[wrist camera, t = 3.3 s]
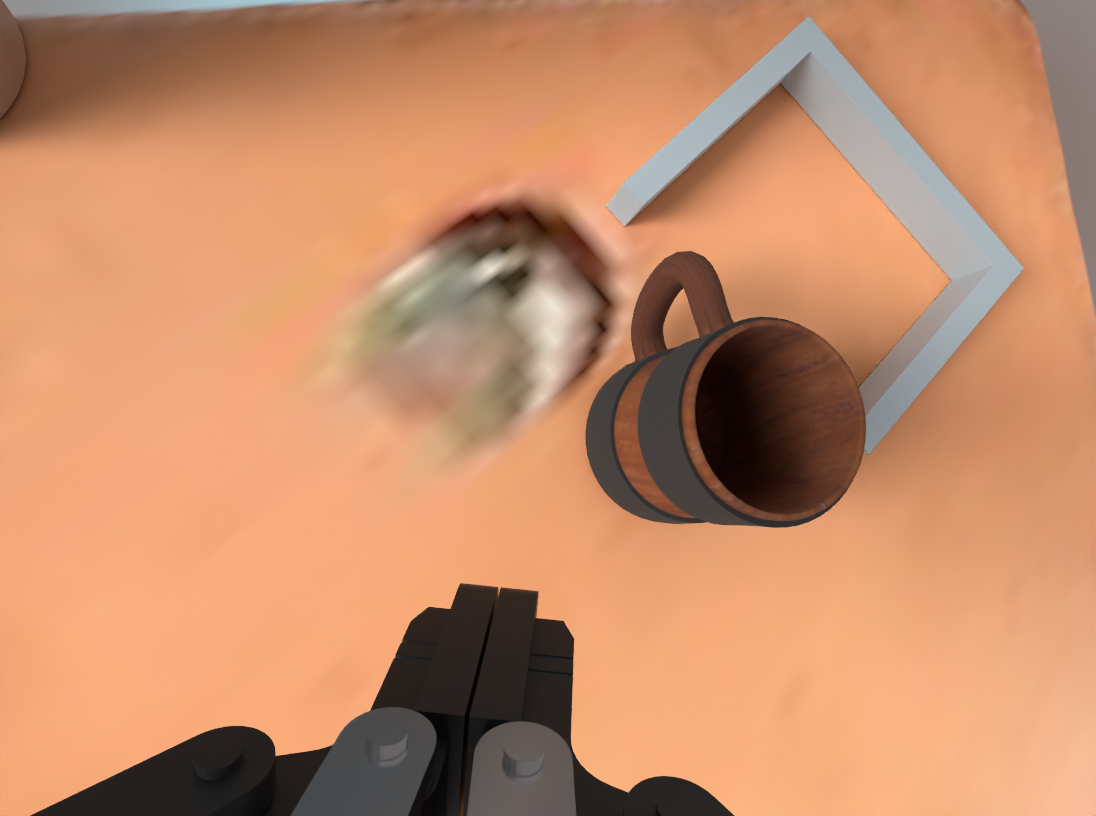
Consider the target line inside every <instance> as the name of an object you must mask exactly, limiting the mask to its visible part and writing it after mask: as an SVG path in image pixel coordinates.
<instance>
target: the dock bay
mask: <svg viewBox="0 0 1096 816" xmlns="http://www.w3.org/2000/svg"><path fill="white" fill-rule="evenodd" d="M780 83H781V84H782V85H783V87H784V88H785V89H786V90H787V91H788V92H789V94H790V95H791V96H792V97H793V98H794V99H795V100H796V102H797V103H798V104H799V105H800V106H801V107H802V109H803V110H804V111H805V112H806V113H807V114H808V115H809V117H810V118H811V119H812V120H813V121H814V122H815V124H816V125H817V126H818V127H819V128H820V129H821V130H822V132H823V133H824V134H825V135H826V136H827V137H828V139H829V140H830V141H831V142H832V143H833V144H834V146H835V147H836V148H837V149H838V150H839V151H840V152H841V154H842V155H843V156H844V157H845V158H846V159H847V161H848V162H849V163H850V164H851V165H852V166H853V167H854V169H855V170H856V171H857V172H858V173H859V174H860V176H861V177H862V178H863V179H864V180H865V181H866V183H867V184H868V185H869V186H870V187H871V188H872V189H873V191H874V192H875V193H876V194H877V195H878V196H879V198H880V199H881V200H882V201H883V202H884V203H885V204H886V206H887V207H888V208H889V209H890V210H891V211H892V213H893V214H894V215H895V216H896V217H897V218H898V219H899V221H900V222H901V223H902V224H903V225H904V226H905V228H906V229H907V230H908V231H909V232H910V233H911V235H912V236H913V237H914V238H915V239H916V240H917V241H918V243H919V244H920V245H921V246H922V247H923V248H924V250H925V251H926V252H927V253H928V254H929V255H930V256H931V258H932V259H933V260H934V261H935V262H936V263H937V265H938V266H939V267H940V268H941V269H942V270H943V272H944V273H945V274H946V275H947V276H948V277H949V278H950V280H951V282H950V283H949V284H948V285H947V286H946V288H945V289H944V290H943V291H942V292H941V293H940V295H939V296H938V297H937V298H936V299H935V300H934V301H933V303H932V304H931V305H930V306H929V307H928V308H927V310H926V311H925V312H924V313H923V314H922V315H921V316H920V318H919V319H918V320H917V321H916V322H915V323H914V325H913V326H912V327H911V328H910V329H909V330H908V331H907V333H906V334H905V335H904V336H903V337H902V338H901V340H900V341H899V342H898V343H897V344H896V345H895V346H894V348H893V349H892V350H891V351H890V352H889V353H888V355H887V356H886V357H885V358H884V359H883V360H882V361H881V363H880V364H879V365H878V366H877V367H876V368H875V370H874V371H873V372H872V373H871V374H870V375H869V377H868V378H867V379H866V380H865V381H864V382H863V383H862V385H861V386H860V387H859V390H860V393H861V397H862V400H863V404H864V410H865V417H866V441H865V447H864V453H863V455H866V454H870V453H871V452H872V450H873V449H874V448H875V447H876V446H877V444H878V443H879V442H880V441H881V440H882V438H883V437H884V436H885V435H886V434H887V432H888V431H889V430H890V429H891V428H892V426H893V425H894V424H895V423H896V422H897V420H898V419H899V418H900V417H901V416H902V414H903V413H904V412H905V411H906V409H907V408H908V407H909V406H910V405H911V403H912V402H913V401H914V400H915V399H916V397H917V396H918V395H919V394H920V393H921V391H922V390H923V389H924V388H925V387H926V385H927V384H928V383H929V382H930V381H931V379H932V378H933V377H934V376H935V375H936V373H937V372H938V371H939V370H940V369H941V367H942V366H943V365H944V364H945V363H946V361H947V360H948V359H949V358H950V357H951V355H952V354H953V353H954V352H955V351H956V349H957V348H958V347H959V346H960V345H961V343H962V342H963V341H964V340H965V339H966V337H967V336H968V335H969V334H970V332H971V331H972V330H973V329H974V328H975V326H976V325H977V324H978V323H979V322H980V320H981V319H982V318H983V317H984V316H985V314H986V313H987V312H988V311H989V310H990V308H991V307H992V306H993V305H994V304H995V302H996V301H997V300H998V299H999V298H1000V296H1001V295H1002V294H1003V293H1004V292H1005V290H1006V289H1007V288H1008V287H1009V286H1010V284H1011V283H1012V282H1013V281H1014V280H1015V278H1016V277H1017V276H1018V275H1019V274H1020V272H1021V271H1022V270H1023V269H1024V268H1023V266H1022V265H1021V264H1020V263H1019V262H1018V260H1017V259H1016V258H1015V257H1014V256H1013V255H1012V253H1011V252H1010V251H1009V250H1008V249H1007V248H1006V246H1005V245H1004V244H1003V243H1002V242H1001V241H1000V239H999V238H998V237H997V236H996V235H995V233H994V232H993V231H992V230H991V229H990V228H989V226H988V225H987V224H986V223H985V222H984V221H983V219H982V218H981V217H980V216H979V215H978V214H977V212H976V211H975V210H974V209H973V208H972V207H971V205H970V204H969V203H968V202H967V201H966V199H965V198H964V197H963V196H962V195H961V194H960V192H959V191H958V190H957V189H956V188H955V187H954V185H953V184H952V183H951V182H950V181H949V180H948V178H947V177H946V176H945V175H944V174H943V173H942V171H941V170H940V169H939V168H938V167H937V165H936V164H935V163H934V162H933V161H932V160H931V158H930V157H929V156H928V155H927V154H926V153H925V151H924V150H923V149H922V148H921V147H920V146H919V144H918V143H917V142H916V141H915V140H914V138H913V137H912V136H911V135H910V134H909V133H908V131H907V130H906V129H905V128H904V127H903V126H902V124H901V123H900V122H899V121H898V120H897V119H896V117H895V116H894V115H893V114H892V113H891V112H890V110H889V109H888V108H887V107H886V106H885V104H884V103H883V102H882V101H881V100H880V99H879V97H878V96H877V95H876V94H875V93H874V92H873V90H872V89H871V88H870V87H869V86H868V85H867V83H866V82H865V81H864V80H863V79H862V78H861V76H860V75H859V74H858V73H857V72H856V70H855V69H854V68H853V67H852V66H851V65H850V63H849V62H848V61H847V60H846V59H845V58H844V56H843V55H842V54H841V53H840V52H839V51H838V49H837V48H836V47H835V46H834V45H833V44H832V42H831V41H830V40H829V39H828V38H827V36H826V35H825V34H824V33H823V32H822V31H821V29H820V28H819V27H818V26H817V25H816V24H815V22H814V21H813V20H812V19H811V18H810V17H809V16H808V17H807V18H806V19H805V20H804V21H803V22H802V23H801V24H800V25H798V26H797V27H796V28H795V29H794V30H793V31H792V32H791V33H790V34H788V35H787V36H786V37H785V38H784V39H783V40H782V41H781V42H780V43H778V44H777V45H776V46H775V47H774V48H773V49H772V50H771V51H769V52H768V53H767V54H766V55H765V56H764V57H763V58H762V59H761V60H759V61H758V62H757V63H756V64H755V65H754V66H753V67H752V68H751V69H749V70H748V71H747V72H746V73H745V74H744V75H743V76H742V77H741V78H739V79H738V80H737V81H736V82H735V83H734V84H733V85H732V86H731V87H729V88H728V89H727V90H726V91H725V92H724V93H723V94H722V95H720V96H719V97H718V98H717V99H716V100H715V101H714V102H713V103H712V104H710V105H709V106H708V107H707V108H706V109H705V110H704V111H703V112H702V113H700V114H699V115H698V116H697V117H696V118H695V119H694V120H693V121H692V122H690V123H689V124H688V125H687V126H686V127H685V128H684V129H683V130H682V131H680V132H679V133H678V134H677V135H676V136H675V137H674V138H673V139H671V140H670V141H669V142H668V143H667V144H666V145H665V146H664V147H663V148H661V149H660V150H659V151H658V152H657V153H656V154H655V155H654V156H653V157H651V158H650V159H649V160H648V161H647V162H646V163H645V164H644V165H643V166H641V167H640V168H639V169H638V170H637V171H636V172H635V173H634V174H633V175H631V176H630V177H629V178H628V179H627V180H626V181H625V182H624V183H623V184H622V185H621V187H620V188H619V189H618V191H617V192H616V193H615V195H614V196H613V197H612V199H611V200H610V201H609V202H608V204H607V205H606V207H607V208H608V209H609V210H610V212H611V213H612V214H613V215H614V216H615V217H616V218H617V219H618V220H619V221H620V223H621V224H622V225H623V226H626V225H627V224H628V223H629V222H630V221H631V220H632V219H633V218H634V217H635V216H636V215H637V214H639V213H640V212H641V211H642V210H643V209H644V208H645V207H646V206H647V205H648V204H649V203H650V202H652V201H653V200H654V199H655V198H656V197H657V196H658V195H659V194H660V193H661V192H662V191H663V190H665V189H666V188H667V187H668V186H669V185H670V184H671V183H672V182H673V181H674V180H675V179H676V178H678V177H679V176H680V175H681V174H682V173H683V172H684V171H685V170H686V169H687V168H688V167H690V166H691V165H692V164H693V163H694V162H695V161H696V160H697V159H698V158H699V157H700V156H701V155H703V154H704V153H705V152H706V151H707V150H708V149H709V148H710V147H711V146H712V145H713V144H714V143H716V142H717V141H718V140H719V139H720V138H721V137H722V136H723V135H724V134H725V133H726V132H727V131H729V130H730V129H731V128H732V127H733V126H734V125H735V124H736V123H737V122H738V121H739V120H740V119H742V118H743V117H744V116H745V115H746V114H747V113H748V112H749V111H750V110H751V109H752V108H753V107H755V106H756V105H757V104H758V103H759V102H760V101H761V100H762V99H763V98H764V97H765V96H766V95H768V94H769V93H770V92H771V91H772V90H773V89H774V88H775V87H776V86H777V85H778V84H780Z"/></svg>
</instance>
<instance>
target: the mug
mask: <svg viewBox="0 0 1096 816" xmlns="http://www.w3.org/2000/svg"><path fill="white" fill-rule="evenodd" d="M683 288H684V290H685V293H686V295H687V298H688V301H689V305H690V308H691V311H692V314H693V318H694V321H695V323H696V326H697V329H698V332H699V337H700V338H698V339H695V340H692V341H689V342H687V343H685V344H683V345H681V346H679V347H676V348H672V349H668V350H667V348H666V345H665V342H664V336H663V324H664V321H665V318H666V315H667V313H668V310H669V308H670V306H671V304H672V302H673V301H674V299H675V297H676V296H677V294H678V293H679V292H680V291H681V290H682V289H683ZM631 340H632V347H633V351H634V356H635V362H633V363H631V364H628V365H626V366H625V367H623V368H622V369H621V370H619V371H618V372H617V373H615V374H614V375H613V376H612V377H611V378H610V379H609V380H608V381H607V382H606V383H605V384H604V385H603V386H602V388H601V389H600V390H599V392H598V394H597V395H596V397H595V399H594V401H593V403H592V406H591V408H590V411H589V415H588V419H587V425H586V448H587V455H588V458H589V462H590V466H591V468H592V470H593V473H594V475H595V477H596V479H597V481H598V482H599V484H600V486H601V487H602V488H603V490H604V491H605V492H606V494H607V495H608V496H609V497H610V498H611V499H612V500H613V501H614V502H615V503H616V504H618V505H619V506H620V507H622V508H623V509H625V510H626V511H628V512H630V513H631V514H633V515H636V516H638V517H640V518H644V519H647V520H651V521H655V522H663V523H672V524H684V523H704V522H709V523H713V524H720V525H748V526H763V527H791V526H797V525H801V524H804V523H807V522H810V521H812V520H814V519H816V518H818V517H820V516H821V515H822V514H824V513H825V512H827V511H828V510H830V509H831V508H832V507H833V506H834V505H835V504H836V503H837V502H838V501H839V500H840V499H841V497H842V496H843V495H844V494H845V492H846V491H847V489H848V488H849V486H850V484H851V483H852V481H853V479H854V477H855V475H856V473H857V471H858V468H859V466H860V463H861V460H862V456H863V453H864V447H865V441H866V417H865V410H864V404H863V400H862V397H861V393H860V390H859V387H858V385H857V383H856V380H855V378H854V376H853V374H852V372H851V371H850V369H849V367H848V365H847V364H846V363H845V361H844V360H843V358H842V357H841V356H840V355H839V353H838V352H837V351H836V350H835V349H834V348H833V347H832V346H831V345H830V344H829V343H828V342H827V341H825V340H824V339H823V338H822V337H820V336H819V335H817V334H816V333H814V332H813V331H811V330H809V329H807V328H805V327H803V326H801V325H799V324H796V323H794V322H791V321H788V320H784V319H778V318H771V317H756V318H749V319H745V320H741V321H738V322H735V323H734V322H733V320H732V318H731V316H730V313H729V310H728V307H727V303H726V300H725V296H724V293H723V289H722V286H721V283H720V280H719V278H718V275H717V273H716V271H715V270H714V268H713V266H712V265H711V263H710V262H709V261H708V260H707V259H706V258H705V257H704V256H701V255H699V254H697V253H694V252H692V251H687V252H677V253H675V254H673V255H671V256H669V257H667V258H665V259H664V260H663V261H662V262H661V263H660V264H659V265H658V266H657V267H656V268H655V270H654V271H653V272H652V274H651V275H650V276H649V278H648V279H647V281H646V283H645V284H644V286H643V288H642V290H641V292H640V295H639V297H638V300H637V302H636V306H635V309H634V314H633V319H632V326H631Z"/></svg>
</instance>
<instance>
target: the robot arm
mask: <svg viewBox="0 0 1096 816" xmlns="http://www.w3.org/2000/svg"><path fill="white" fill-rule="evenodd" d="M25 65H26V54H25V46H24V39H23V37H22V34H21V32H20V29H19V27H18V24H17V22H16V19H15V18H14V17H13V15H12V14H11V12H10V11H9V10H8V8H7V7H6V5H5V4H4V2H3V1H2V0H0V118H1V117H2V116H3V115H4V114H5V113H6V111H7V110H8V109H9V107H10V106H11V104H12V103H13V102H14V100H15V99H16V97H17V95H18V92H19V90H20V87H21V85H22V82H23V80H24V74H25ZM498 592H499V591H498V587H491V586H482V585H472V584H463V583H461V584H460V585H459V587H458V590H457V593H456V596H455V598H454V601H453V604H452V607H451V609H444V608H434V607H428V608H427V609H426V610H424V611H423V612H422V613H421V614H419V615H418V616H417V617H416V618H414V619H413V620H412V621H411V622H410V624H409V626H408V629H407V631H406V633H405V635H404V637H403V640H402V643H401V644H400V646H399V648H398V651H397V653H396V656H395V659H393V662H392V664H391V666H390V668H389V670H388V673H387V675H386V677H385V679H384V681H383V684H382V686H381V688H380V690H379V692H378V695H377V697H376V699H375V701H374V703H373V706H372V708H371V710H370V711H369V712H366V713H363V714H362V715H360V716H358V717H356V718H355V719H353V720H352V721H351V722H349V723H348V724H347V725H346V726H345V727H344V729H343V730H342V731H341V733H340V734H339V736H338V738H337V739H336V741H335V743H334V744H333V745H331V746H329V747H326V748H322V749H319V750H314V751H308V752H301V753H294V754H287V755H280V756H275V746H274V744H273V742H272V740H271V739H270V737H269V736H267V735H266V734H265V733H264V732H262V731H260V730H258V729H254V728H251V727H245V726H229V727H222V728H217V729H213V730H210V731H207V732H204V733H202V734H200V735H197V736H195V737H193V738H191V739H189V740H187V741H185V742H183V743H180V744H178V745H176V746H174V747H172V748H170V749H168V750H166V751H164V752H162V753H160V754H158V755H156V756H153V757H151V758H149V759H147V760H145V761H143V762H141V763H139V764H137V765H135V766H133V767H131V768H128V769H126V770H124V771H122V772H120V773H118V774H116V775H114V776H112V777H110V778H108V779H106V780H104V781H101V782H99V783H97V784H95V785H93V786H91V787H89V788H87V789H85V790H83V791H81V792H79V793H76V794H74V795H72V796H70V797H68V798H66V799H64V800H62V801H60V802H58V803H56V804H54V805H52V806H49V807H47V808H45V809H43V810H41V811H39V812H37V813H35V814H33V815H31V816H734V815H733V814H732V813H731V812H730V811H729V810H728V809H727V808H725V807H724V806H723V805H722V804H721V803H720V802H719V801H718V800H717V799H716V798H715V797H714V796H712V795H711V794H710V793H709V792H708V791H706V790H705V789H703V788H702V787H700V786H698V785H696V784H694V783H692V782H690V781H687V780H684V779H681V778H676V777H668V776H660V777H653V778H648V779H646V780H643V781H641V782H640V783H638V784H637V785H635V786H634V787H633V788H632V789H631V790H630V792H629V793H628V792H625V791H623V790H620V789H618V788H615V787H613V786H610V785H608V784H606V783H604V782H602V781H600V780H599V779H597V778H595V777H594V776H593V775H591V774H590V773H589V772H588V771H586V769H585V768H584V767H583V766H582V765H581V764H580V763H579V761H578V760H577V758H576V756H575V754H574V752H573V749H572V746H571V713H572V684H573V654H574V638H573V636H572V635H571V633H570V631H569V630H568V628H567V626H566V625H565V623H564V621H558V620H548V619H539V618H536V616H537V605H538V591H530V590H521V589H511V588H502V587H501V589H500V593H499V597H498Z"/></svg>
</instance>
